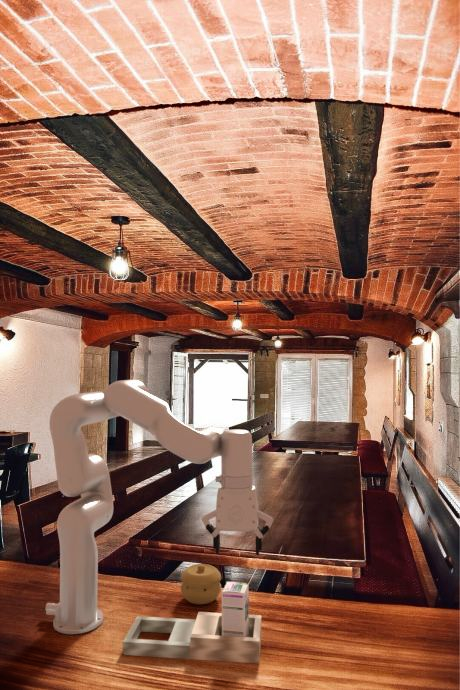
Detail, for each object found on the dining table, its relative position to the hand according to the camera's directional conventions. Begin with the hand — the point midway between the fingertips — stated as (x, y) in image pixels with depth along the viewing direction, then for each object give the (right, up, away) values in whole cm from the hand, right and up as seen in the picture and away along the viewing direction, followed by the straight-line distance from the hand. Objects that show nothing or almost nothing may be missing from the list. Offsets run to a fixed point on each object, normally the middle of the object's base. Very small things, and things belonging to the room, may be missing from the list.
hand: (237, 552), depth 125 cm
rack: (-11, -23, +1) cm, 25 cm away
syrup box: (-1, -23, 0) cm, 23 cm away
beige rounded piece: (-10, -23, +24) cm, 35 cm away
